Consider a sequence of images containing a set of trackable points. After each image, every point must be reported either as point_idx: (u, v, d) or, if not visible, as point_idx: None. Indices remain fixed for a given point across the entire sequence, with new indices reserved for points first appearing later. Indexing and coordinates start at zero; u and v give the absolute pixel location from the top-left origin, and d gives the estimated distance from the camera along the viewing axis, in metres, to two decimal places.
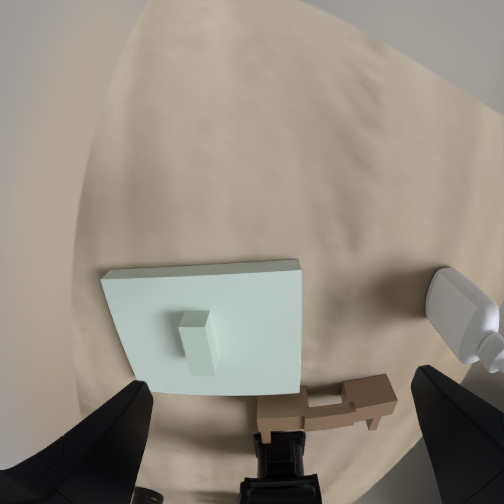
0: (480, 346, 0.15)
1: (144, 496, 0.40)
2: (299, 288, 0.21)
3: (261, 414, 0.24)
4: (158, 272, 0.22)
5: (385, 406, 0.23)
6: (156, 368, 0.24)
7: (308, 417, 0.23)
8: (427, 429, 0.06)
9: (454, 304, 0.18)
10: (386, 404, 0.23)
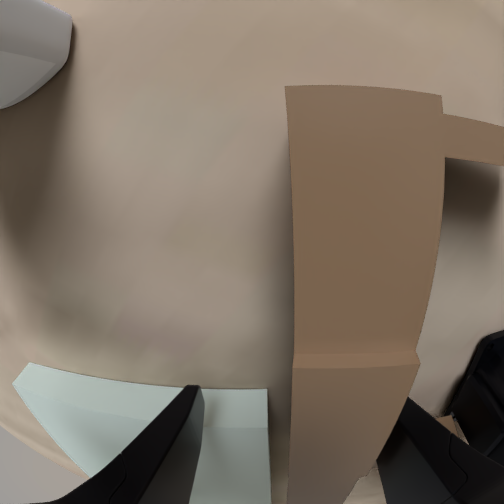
0: None
1: None
2: (30, 392, 0.09)
3: None
4: None
5: (330, 169, 0.04)
6: None
7: None
8: None
9: None
10: (316, 161, 0.04)
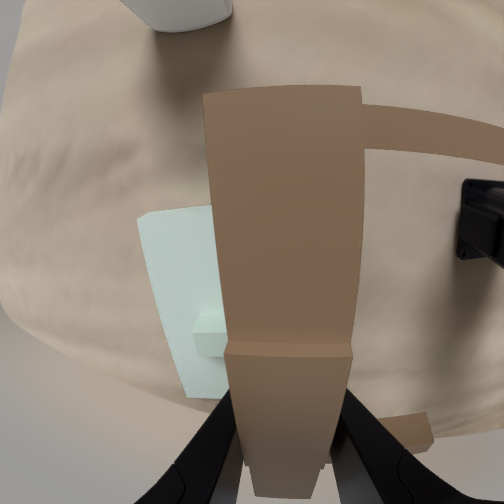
0: None
1: None
2: (158, 219, 0.17)
3: None
4: None
5: (244, 166, 0.04)
6: None
7: None
8: (332, 450, 0.06)
9: (148, 9, 0.10)
10: (230, 160, 0.04)
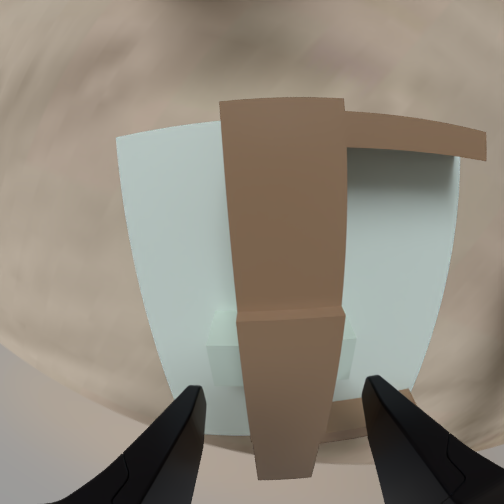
0: None
1: None
2: (153, 134, 0.09)
3: None
4: None
5: (253, 161, 0.05)
6: None
7: None
8: (374, 443, 0.06)
9: None
10: (242, 156, 0.05)
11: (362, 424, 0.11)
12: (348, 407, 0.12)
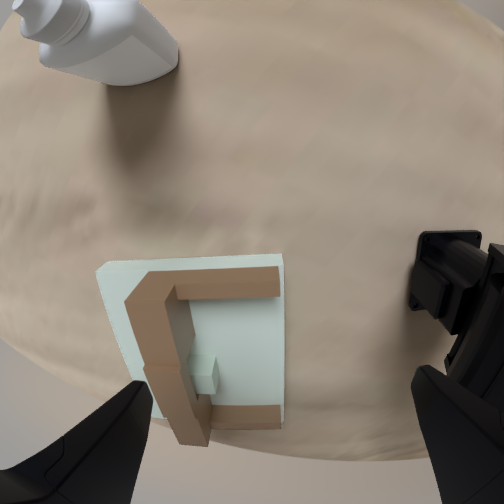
0: (58, 45, 0.07)
1: None
2: (112, 273, 0.18)
3: None
4: None
5: (138, 321, 0.15)
6: None
7: None
8: (427, 429, 0.06)
9: (87, 75, 0.11)
10: (134, 319, 0.15)
11: (241, 421, 0.20)
12: (236, 410, 0.22)
